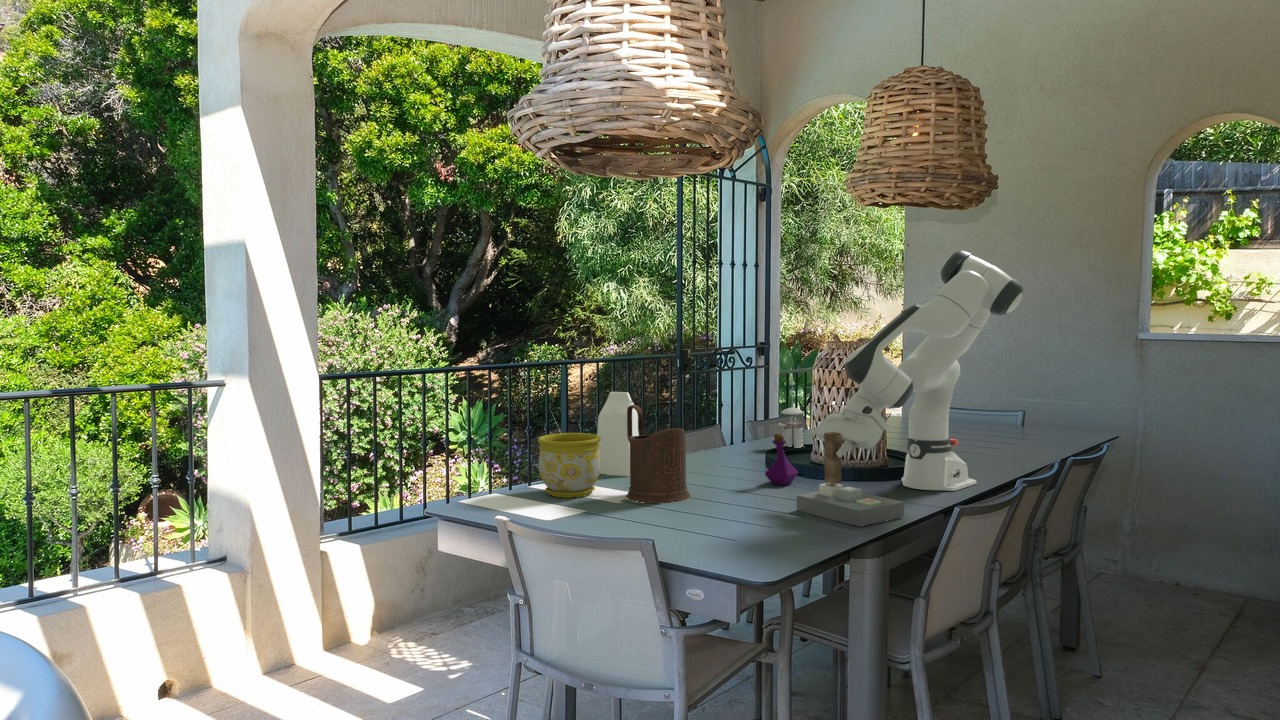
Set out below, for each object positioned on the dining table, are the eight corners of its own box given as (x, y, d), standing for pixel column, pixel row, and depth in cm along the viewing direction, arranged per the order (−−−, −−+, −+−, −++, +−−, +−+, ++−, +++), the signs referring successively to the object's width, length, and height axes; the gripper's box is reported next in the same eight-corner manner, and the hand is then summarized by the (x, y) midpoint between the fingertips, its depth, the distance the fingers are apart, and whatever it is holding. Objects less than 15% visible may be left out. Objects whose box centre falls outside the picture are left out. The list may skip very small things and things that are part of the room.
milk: (644, 470, 301) (643, 391, 299) (630, 476, 290) (629, 394, 288) (610, 467, 305) (609, 390, 303) (595, 474, 295) (594, 393, 293)
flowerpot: (546, 502, 255) (545, 443, 253) (533, 489, 272) (532, 434, 271) (608, 497, 260) (608, 439, 259) (592, 485, 277) (591, 431, 276)
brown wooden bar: (833, 480, 243) (833, 431, 242) (841, 482, 241) (840, 433, 240) (824, 481, 242) (824, 432, 241) (832, 483, 239) (831, 434, 238)
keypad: (840, 502, 250) (840, 487, 250) (904, 517, 232) (904, 502, 232) (796, 510, 242) (796, 495, 241) (859, 527, 223) (859, 510, 223)
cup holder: (649, 507, 247) (648, 415, 246) (603, 492, 267) (601, 406, 266) (704, 498, 258) (703, 409, 256) (655, 484, 278) (654, 402, 276)
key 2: (867, 511, 234) (867, 497, 234) (881, 515, 231) (881, 500, 231) (855, 514, 232) (855, 499, 232) (868, 517, 228) (869, 502, 228)
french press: (804, 447, 343) (804, 380, 341) (807, 452, 331) (807, 383, 329) (778, 446, 344) (777, 380, 342) (779, 452, 332) (779, 383, 330)
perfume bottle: (786, 487, 271) (786, 426, 270) (764, 484, 275) (764, 424, 274) (798, 483, 277) (798, 423, 276) (776, 480, 281) (776, 421, 280)
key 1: (831, 495, 245) (831, 481, 245) (843, 498, 242) (843, 484, 241) (819, 497, 243) (819, 483, 243) (831, 500, 239) (831, 486, 239)
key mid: (849, 499, 240) (849, 485, 240) (861, 502, 236) (861, 488, 236) (836, 502, 237) (837, 487, 237) (849, 505, 234) (849, 490, 233)
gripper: (827, 403, 253) (799, 442, 248) (880, 410, 235) (851, 452, 231) (839, 418, 255) (812, 457, 251) (893, 426, 237) (864, 468, 233)
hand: (831, 454), depth 241 cm, fingers closed on brown wooden bar, 3 cm apart
